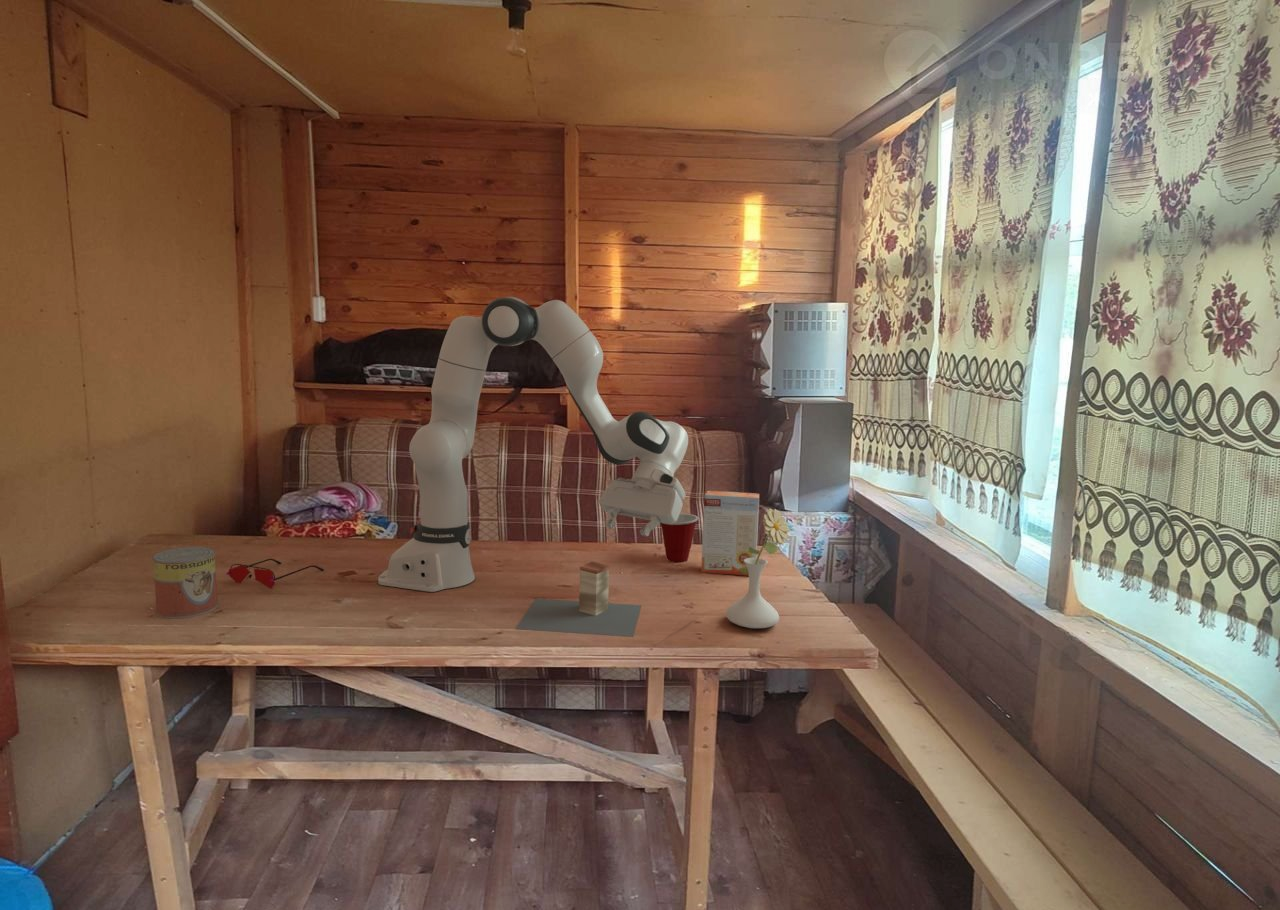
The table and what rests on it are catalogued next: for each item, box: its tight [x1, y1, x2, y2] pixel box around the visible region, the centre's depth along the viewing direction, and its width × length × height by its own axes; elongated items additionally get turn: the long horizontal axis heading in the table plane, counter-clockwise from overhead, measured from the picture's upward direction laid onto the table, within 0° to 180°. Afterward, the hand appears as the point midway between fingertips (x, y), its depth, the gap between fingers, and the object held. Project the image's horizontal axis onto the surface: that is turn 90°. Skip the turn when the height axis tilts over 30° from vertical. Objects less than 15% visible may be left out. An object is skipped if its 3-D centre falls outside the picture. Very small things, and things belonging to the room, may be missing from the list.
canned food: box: [151, 545, 219, 619], centre depth 159 cm, size 11×11×12 cm
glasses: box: [226, 558, 325, 589], centre depth 182 cm, size 14×16×5 cm
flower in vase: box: [725, 508, 791, 629], centre depth 160 cm, size 13×11×25 cm
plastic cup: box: [659, 513, 699, 563], centre depth 205 cm, size 11×11×12 cm
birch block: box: [578, 561, 610, 616], centre depth 163 cm, size 4×4×10 cm
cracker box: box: [701, 490, 760, 577], centre depth 195 cm, size 14×6×21 cm, turn 80°
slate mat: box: [515, 597, 642, 638], centre depth 161 cm, size 24×18×1 cm
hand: (626, 530), depth 172 cm, fingers open, 8 cm apart
